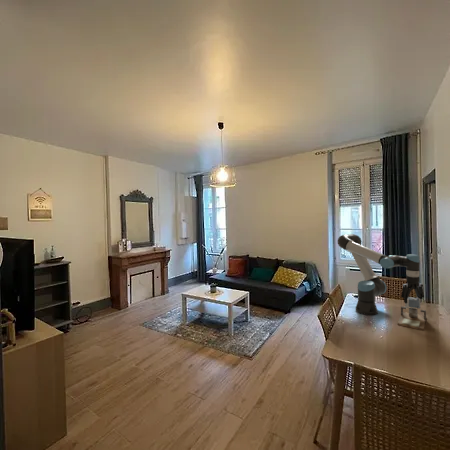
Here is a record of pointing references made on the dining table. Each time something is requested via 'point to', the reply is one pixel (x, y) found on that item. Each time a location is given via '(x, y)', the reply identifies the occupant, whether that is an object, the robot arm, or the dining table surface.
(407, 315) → the base
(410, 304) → the cap
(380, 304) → the dining table surface
